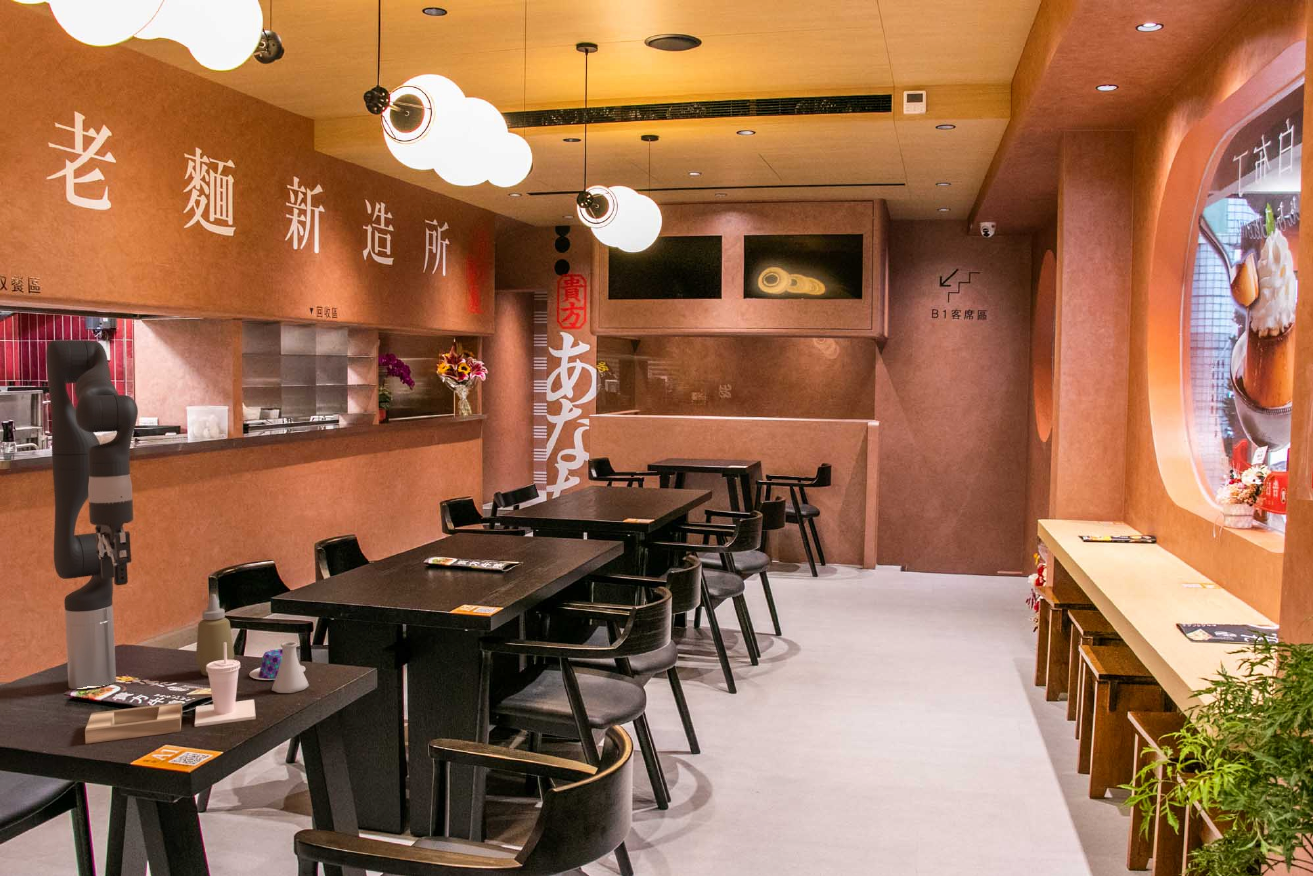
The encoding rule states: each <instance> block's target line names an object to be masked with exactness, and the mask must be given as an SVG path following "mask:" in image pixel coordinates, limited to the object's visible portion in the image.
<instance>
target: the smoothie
mask: <svg viewBox="0 0 1313 876" xmlns="http://www.w3.org/2000/svg"><path fill="white" fill-rule="evenodd" d="M240 668H241V662H240V661H239V660H236V659H233V660H227V643H226V642H224V660H219V661H214V662H211V663H209V664H207V665H206V671H207V672H208V676H207V677H208V682H209V686H210V692H211V699H212V704H213V706H214V712H215V713H216V714H228V713H231V712H233V711H234V710H235V702H236V700H237V689H238V682H239V681H238V679H239V678H238V677H239V670H240Z"/></svg>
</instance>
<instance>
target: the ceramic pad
mask: <svg viewBox="0 0 1313 876" xmlns="http://www.w3.org/2000/svg"><path fill="white" fill-rule="evenodd" d="M255 705H256V704H255V699H246V700H240V701H235V710H234V711H233V712H231V713H228V714H216V713H215V712H214V706H213V703H212V704H206V705H205V704H204V705H197V706H196V707H195V718H194V727H195V728H196V727H204V726H211V725H219V724H220V725H221V724H228V723H236V722H243V721H250V720H251V721H252V720H256V719H257V718H256V717H257V716H256V707H255Z"/></svg>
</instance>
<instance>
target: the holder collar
mask: <svg viewBox="0 0 1313 876" xmlns="http://www.w3.org/2000/svg"><path fill="white" fill-rule="evenodd" d="M182 719H183V701H182V702H173V703H166V704H164V703H163V704H157V705H148V706H139V707H132V708H124V709H115V710H114V709H113V710H108V711H107V710H106V711H99V712H91V714H90V717H89V720H88V722H87V724H86V727H85V729H84V736H85V737H84V738H85V739H84V740H85V744H93V743H94V744H95V743H102V742H108V741H118V740H126V739H134V738H140V737H141V738H142V737H148V736H157V735H163V734H164V735H165V734H173V733H179V732H181V729H182V722H183V721H182Z"/></svg>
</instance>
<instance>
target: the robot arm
mask: <svg viewBox="0 0 1313 876" xmlns="http://www.w3.org/2000/svg"><path fill="white" fill-rule="evenodd" d="M106 352H107V351H106V349H105V348H104V346H103V345H102V343H100V342H98V341H96V340H86V339H84V340H83V339H55V340H53V339H52V340H51V341H50V342H49V343H48V344H47V347H46V352H45V353H46V354H45V355H46V356H45V357H46V358H45V359H46V360H45V362H46V363H45V364H46V371H47V372H46V373H47V381H48V382H47V383H48V392H49V403H50V414H51V416H50V417H51V464H52V477H53V479H52V480H53V491H54V492H53V493H54V530H53V531H54V533H53V536H54V537H53V562H54V569H55V571H56V574H57V576H58V577H59V578H60V579H62V580H63V579H64V580H70V579H77V578H78V579H79V578H84V577H85V578H86V577H91V578H90V579H89V581H88V582H86V583H85V584H84V585H82V587H79V588H78V589H76V590H74V591H72V592H70V593H68V594H67V595H66V596H65V598H64V601H63V603H64V617H65V636H66V637H65V639H66V641H65V642H66V661H67V680H68V688H69V689H72V690H77V688H83V687H87V686H103V685H107V686H110V685H113V684H114V683H115V682H116V681H117V673H116V669H117V668H116V652H115V651H116V648H115V628H114V626H115V625H114V608H113V607H114V605H113V603H114V602H113V595H114V585H115V586H123V585H125V586H126V585H127V584H128V581H129V580H128V565H129V563H131V562H132V553H131V551H132V550H131V534H130V531H128V530H127V531H125V529H124V526H123V525H124V524H129V523H131V522H133V521H134V504H133V503H134V501H133V485H132V484H133V483H132V479H131V468H130V451H131V442H132V438H133V434H134V430H135V427H136V423H137V419H138V414H139V410H138V409H139V408H138V405H137V402H136V401H135V400H134V399H133V398H132V397H131V396H130V395H126V394H119V392H118V391H117V388H116V387H115V385H114V384H113V382H112V375H111V370H110V365H109V361H108V355H107V353H106ZM67 384H75V386H74V393H75V396H76V398H77V403H76V407H75V405H74V404H73V402H72V400H71V398H70V395H69V393H68V389H67ZM107 432H108V433H110V432H113V433H114V432H116V435H115V436H114V438H113V439H112V440H111V441H108V442H105V443H100V441H99V439H98V437H97V435H96V434H95V433H107ZM87 499H88V511H89V512H88V515H89V517H88V518H89V523H90V524H91V525H93V526H95V527H94V529H95V532H91V533H82V534H75V531H76V525H77V521H78V518H79V514H80V512H81V509H82V508H83V506H84V504H86V501H87ZM109 684H110V685H109Z"/></svg>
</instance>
